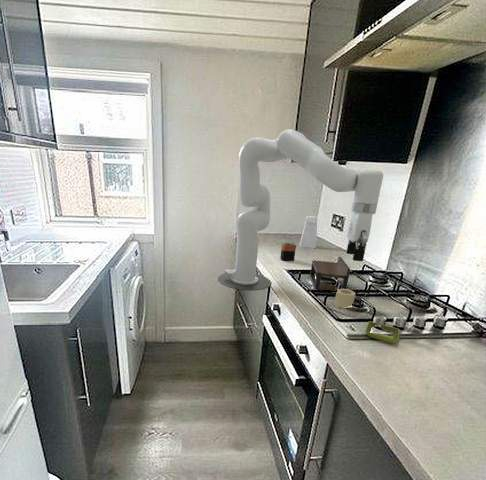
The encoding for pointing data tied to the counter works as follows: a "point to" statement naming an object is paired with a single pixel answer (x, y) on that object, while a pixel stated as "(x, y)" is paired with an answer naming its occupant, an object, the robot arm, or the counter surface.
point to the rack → (329, 273)
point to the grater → (309, 235)
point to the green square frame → (383, 337)
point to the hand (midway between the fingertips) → (354, 257)
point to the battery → (288, 251)
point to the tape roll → (344, 298)
